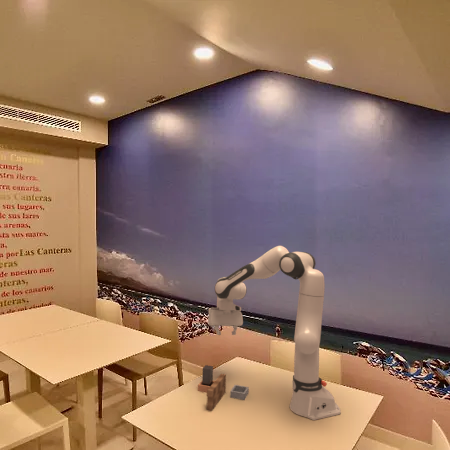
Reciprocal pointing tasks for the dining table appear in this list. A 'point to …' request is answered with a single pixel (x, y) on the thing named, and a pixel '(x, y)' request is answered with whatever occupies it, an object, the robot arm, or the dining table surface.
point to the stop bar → (207, 375)
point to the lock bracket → (203, 387)
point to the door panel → (216, 392)
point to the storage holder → (239, 392)
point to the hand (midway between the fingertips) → (226, 334)
